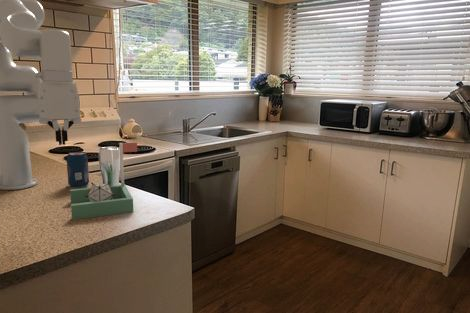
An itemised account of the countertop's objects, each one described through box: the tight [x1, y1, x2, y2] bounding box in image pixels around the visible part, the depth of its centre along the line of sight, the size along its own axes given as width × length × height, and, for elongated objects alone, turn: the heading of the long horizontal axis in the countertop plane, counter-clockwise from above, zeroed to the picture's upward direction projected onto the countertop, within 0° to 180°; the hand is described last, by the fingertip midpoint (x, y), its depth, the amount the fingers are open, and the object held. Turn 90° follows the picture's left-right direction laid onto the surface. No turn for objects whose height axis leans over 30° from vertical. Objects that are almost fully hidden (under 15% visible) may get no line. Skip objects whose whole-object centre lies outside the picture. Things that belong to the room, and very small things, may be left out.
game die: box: [85, 182, 116, 202], centre depth 108 cm, size 9×8×10 cm
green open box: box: [69, 141, 138, 220], centre depth 110 cm, size 21×16×18 cm
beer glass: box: [98, 146, 121, 186], centre depth 125 cm, size 7×7×15 cm
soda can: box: [66, 151, 90, 189], centre depth 130 cm, size 7×7×12 cm
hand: (62, 143), depth 103 cm, fingers closed
